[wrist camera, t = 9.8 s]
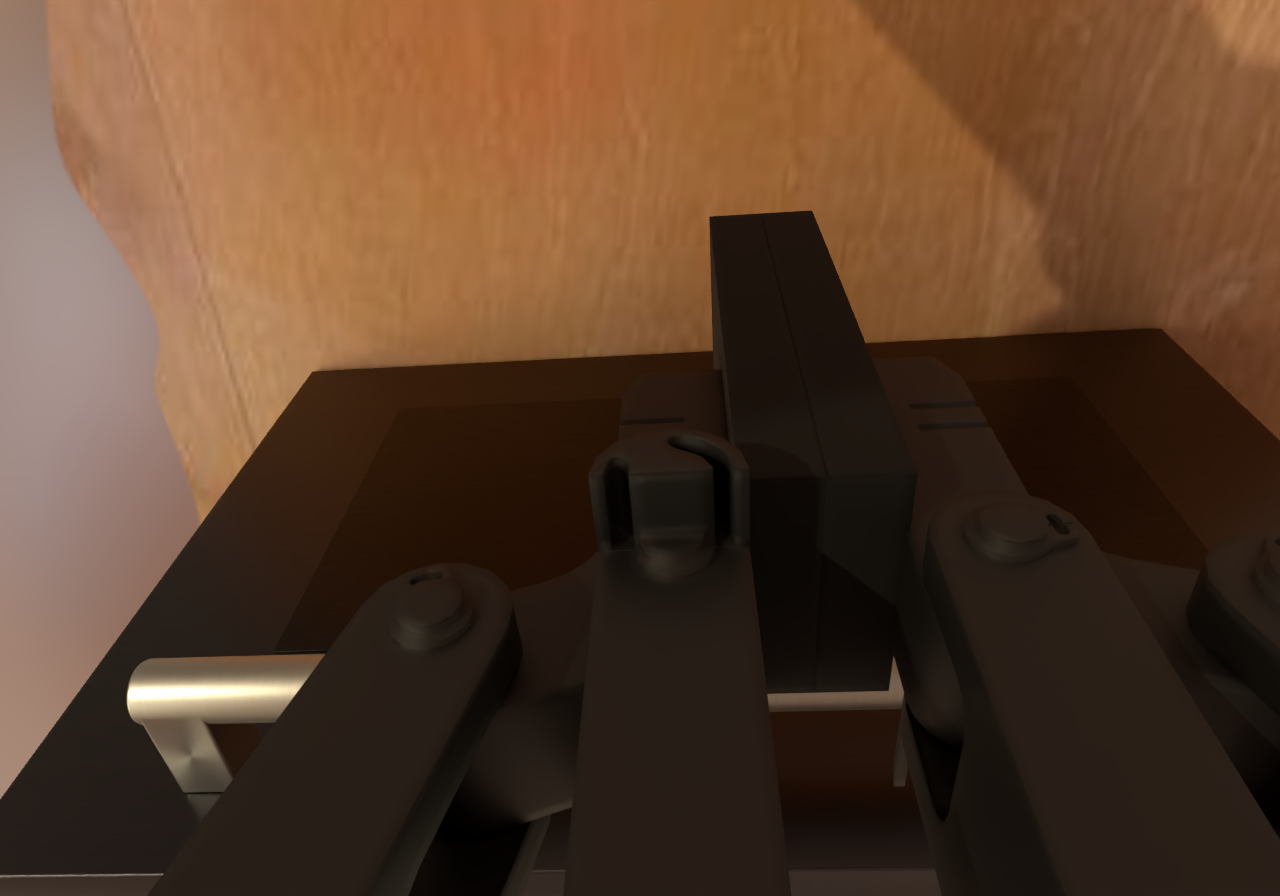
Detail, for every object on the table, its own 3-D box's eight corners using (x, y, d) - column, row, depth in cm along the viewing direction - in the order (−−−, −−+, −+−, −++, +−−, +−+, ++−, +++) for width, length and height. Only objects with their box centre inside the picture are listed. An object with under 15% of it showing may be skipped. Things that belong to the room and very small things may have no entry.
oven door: (289, 299, 40) (-149, 779, 19) (1183, 248, 38) (1854, 744, 16) (321, 399, 43) (-27, 912, 22) (1152, 358, 41) (1685, 903, 19)
